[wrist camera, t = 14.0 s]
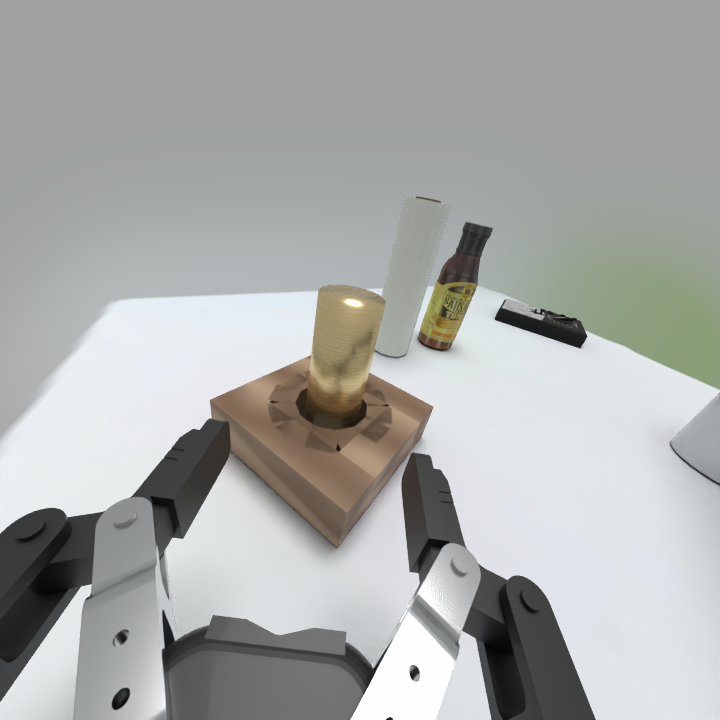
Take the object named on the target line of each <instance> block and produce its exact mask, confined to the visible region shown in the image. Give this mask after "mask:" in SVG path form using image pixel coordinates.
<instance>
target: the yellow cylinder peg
mask: <svg viewBox="0 0 720 720" xmlns="http://www.w3.org/2000/svg"><path fill="white" fill-rule="evenodd" d="M385 304H386V301H385V300H384V299H383V298H382V297H381V296H379V295H378V294H376V293H373V292H371V291H368V290H365V289H362V288H358V287H352V286H346V285H328V286H324V287H321V288H320V289H319V292H318V301H317V309H316V318H315V327H314V336H313V345H312V354H311V363H310V372H309V381H308V390H307V398H306V407H305V416H304V419H306V420H307V421H309V422H310V423H312V424H313V425H314V426H317V427H322V428H327V429H332V430H340V429H345V428H350V427H355V426H356V425H357V421H358V417H359V413H360V408H361V404H362V400H363V396H364V392H365V388H366V383H367V379H368V375H369V371H370V367H371V362H372V358H373V354H374V350H375V346H376V342H377V337H378V333H379V329H380V325H381V321H382V316H383V312H384V308H385Z"/></svg>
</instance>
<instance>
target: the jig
mask: <svg viewBox="0 0 720 720" xmlns="http://www.w3.org/2000/svg"><path fill="white" fill-rule="evenodd" d="M310 363H311V356H308V357H306V358H304V359H302V360H299V361H297V362H295V363H293V364H290V365H288V366H286V367H284V368H281V369H279V370H277V371H274V372H272V373H270V374H268V375H265V376H263V377H261V378H259V379H256V380H254V381H252V382H250V383H247V384H245V385H243V386H241V387H238V388H236V389H234V390H231V391H229V392H227V393H225V394H222V395H220V396H218V397H216V398H213V399H211V400H210V405H211V414H212V419H216V420H222V421H228V422H229V425H230V441H231V449H230V451H231V452H232V453H233V454H234V455H236V456H237V457H238V458H239V459H240V460H241V461H242V462H243V463H244V464H245V465H247V466H248V467H249V468H250V469H251V470H252V471H253V472H254V473H255V474H256V475H258V476H259V477H260V478H261V479H262V480H263V481H264V482H265V483H266V484H267V485H269V486H270V487H271V488H272V489H273V490H274V491H275V492H276V493H277V494H278V495H280V496H281V497H282V498H283V499H284V500H285V501H286V502H287V503H288V504H289V505H291V506H292V507H293V508H294V509H295V510H296V511H297V512H298V513H299V514H300V515H302V516H303V517H304V518H305V519H306V520H307V521H308V522H309V523H310V524H311V525H313V526H314V527H315V528H316V529H317V530H318V531H319V532H320V533H321V534H322V535H324V536H325V537H326V538H327V539H328V540H329V541H330V542H331V543H332V544H333V545H335V546H336V547H337V548H338V547H339V545H340V544H341V543H342V541H343V540H344V539H345V537H346V536H347V535H348V533H349V532H350V531H351V529H352V528H353V527H354V525H355V524H356V523H357V521H358V520H359V519H360V517H361V516H362V515H363V513H364V512H365V511H366V509H367V508H368V507H369V505H370V504H371V503H372V501H373V500H374V499H375V497H376V496H377V495H378V493H379V492H380V491H381V489H382V488H383V487H384V486H385V484H386V483H387V482H388V480H389V479H390V478H391V476H392V475H393V474H394V472H395V471H396V470H397V468H398V467H399V466H400V464H401V463H402V462H403V460H404V459H405V458H406V456H407V455H408V454H409V452H410V451H411V450H412V448H413V447H414V446H415V444H416V443H417V442H418V440H419V439H420V438H421V436H422V434H423V432H424V429H425V427H426V424H427V422H428V419H429V417H430V414H431V412H432V409H433V406H431V405H429V404H427V403H425V402H423V401H422V400H420V399H418V398H416V397H414V396H412V395H410V394H408V393H407V392H405V391H403V390H401V389H399V388H397V387H395V386H393V385H392V384H390V383H388V382H386V381H384V380H382V379H380V378H378V377H376V376H375V375H373V374H371V373H369V375H368V379H367V383H366V388H365V392H364V396H363V400H362V404H361V408H360V413H359V417H358V421H357V425H356V426H355V427H350V428H345V429H340V430H332V429H327V428H322V427H317V426H314V425H313V424H312V423H310V422H309V421H307V420H306V419H304V416H305V407H306V398H307V390H308V381H309V372H310Z"/></svg>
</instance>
